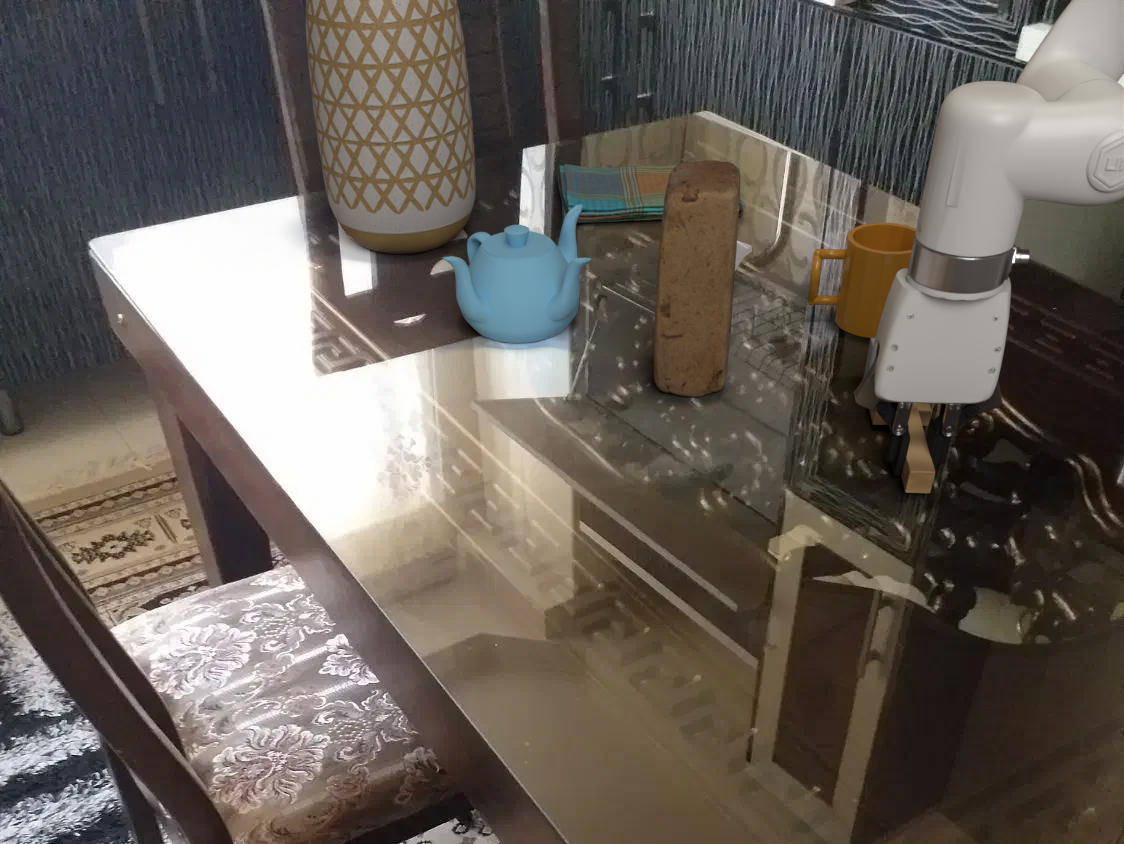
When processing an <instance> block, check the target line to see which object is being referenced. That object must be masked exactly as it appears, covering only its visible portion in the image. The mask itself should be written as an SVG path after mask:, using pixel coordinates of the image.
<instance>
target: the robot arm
mask: <svg viewBox="0 0 1124 844" xmlns="http://www.w3.org/2000/svg"><path fill="white" fill-rule="evenodd" d="M1123 76H1124V0H1070V2H1069V3H1068V5H1066V7H1065V8H1064V9H1063V11H1062V12H1061V13H1060V15H1059V16H1058V18H1057V19H1056V21H1055V22H1054V23H1053V25H1052V26H1051V28H1050V29H1049V30H1048V32H1047V33H1046V35H1045V37H1044V38H1043V39H1042V40H1041V42H1040V44H1039V45H1038V46H1037V48H1036V49H1035V51H1034V52H1033V54H1032V55H1031V57H1030V58H1029V60H1028V62H1027V63H1026V65H1025V66H1024V68H1023V69H1022V71H1021V73H1020V74H1019V76H1018V78H1017V80H1016V82H1011V81H1001V80H979V81H978V80H977V81H973V82H968V83H965V84H960V85H959V86H957V87H955V88H953V89H952V90H950V92H949V93H948V94H947V95H946V97H944V99H943V102H942V103H941V105H940V109H939V113H938V117H937V121H936V125H935V131H934V136H933V142H932V147H931V151H930V156H929V161H928V165H927V171H926V176H925V182H924V186H923V192H922V197H921V201H920V207H919V211H918V217H917V223H916V226H915V228H916V232H915V236H914V241H913V246H912V251H911V256H910V261H909V266H908V268H904V269H901V270H899V271H898V272H897V274H896V276H895V278H894V281H893V283H892V286H891V288H890V291H889V294H888V297H887V300H886V303H885V306H884V309H883V312H882V316H881V319H880V323H879V327H878V330H877V334H876V338H875V342H874V346H873V350H872V354H871V359H870V366H869V371H868V372H867V374H866V375H865V377H864V376H863V377H864V378H863V377H862V379H861V381H860V382H859V384H858V386H857V387H856V389H854V393H853V394H854V395H853V396H854V401H855V404H857V405H858V406H861V407H862V408H865V409H867V410H869V411H870V410H871V411H875V412H877V413H878V414H879V416H880V417H881V418H882V419H883V420H884V421H885V422H886V424H887V425H886V426H888V427H889V432H888V438H887V441H886V442H887V443H886V448H885V453H884V454H885V455H884V459H885V463H890V466H891V470H892V474H893V477H900V476H901V475H902V472H903V467H904V463H905V458H906V456H907V453H908V448H909V444H910V433H909V430H908V429H909V426H908V421H909V417H910V413H911V409H912V405H913V403H929V404H930V405H931V404H934V405H935V404H936V405H937V404H938V411H937V415H936V417H935V418H934V419H932V420H931V422H929V424H928V426H927V432H926V434H925V437H926V442H927V445H928V449H929V453H930V456H931V458H932V462H933V465H934V469H935V472H936V471H937V468H938V465H939V464H940V465H942V464H943V463H944V461H945V457H946V453H947V449H948V445H949V441H950V437H953V436H955V434H956V433H957V430H958V429H959V428H961V427H962V426H963V425H964V424H966V423H967V422H969V421H970V420H971V419H973V418H974V417H975V416H976V415H978V414H979V415H980V414H984V413H987V412H990V411H993V410H995V409H999V408H1000V407H1001V406H1002V404H1003V397H1002V392H1001V389H1000V382H999V376H1000V372H1001V368H1002V364H1003V358H1004V353H1005V347H1006V342H1007V341H1006V340H1007V335H1008V328H1009V321H1010V312H1011V311H1010V310H1011V301H1012V300H1011V298H1012V283H1011V278H1010V277H1009V275H1010V274H1011V273H1012V270H1014V269H1017V268H1026V267H1027V266H1028V264H1029V262H1030V253H1031V252H1030V249H1029V248H1021V247H1020V246H1016V243H1015V242H1016V238H1017V235H1018V231H1019V228H1020V227H1019V226H1020V223H1021V219H1022V217H1023V216H1022V215H1023V212H1024V207H1025V203H1026V202H1027V201H1038V202H1046V203H1047V202H1048V203H1053V204H1060V205H1066V206H1067V205H1068V206H1077V207H1099V206H1104V205H1108V204H1112V203H1115V202H1118V201H1120V200H1123V199H1124V86H1123V85H1122V84H1121V83H1119V81H1120V79H1121V78H1122V77H1123Z"/></svg>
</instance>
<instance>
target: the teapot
mask: <svg viewBox="0 0 1124 844" xmlns="http://www.w3.org/2000/svg"><path fill="white" fill-rule="evenodd" d="M582 208H583V205H581V204H579V205H576V206H575V207H573V208H572V209H571V210H570V211H569V212H568V213H567V215H566V216H565V219H564V221H562V225H561V229H560V234H559V238H558V243H557V244H556V243H555V242H554V240H552V238H551V237H549V236H548V235H546V234H543V233H540V232H536V231H530V228H529V227H528V226H526V225H524V224H512V225H508V226H506V227H504V229H503V232H498V233H495V234H493V235H491V234H489V233H488V232H486V231H477V232H475V233H473V234H471V235H470V236H469V237H468V239H467V241H466V251H467V258H468V263H469V264H467V262H466V261H465V260H464V259H463V258H460V257H456V256H442V259H443V260H444V261H446V262H447V263H448V264H450V266H451V267H452V269H453V272H454V277H455V297H456V302H457V304H458V307H459V309H460V313H461V315H462V317H463V318H464V320H465V321H466V323H468V324H469V326H470V327H472V328H473V330H475V331H476V332H477V333H478V334H480V335H481V336H482V337H484V338H487V339H489V340H492V341H497V342H501V343H510V344H526V343H535V342H539V341H544V340H548V339H551V338H552V337H555V336H556V335H559V334H560V333H562V332H563V331H565V330H566V328H567V327H568V326H569V325H570V324H571V322H572V321H573V320H574V319H575V318H576V316H577V314H578V312H579V309H580V299H581V273H582V270H583V268H584V266H585V265H586V264H588V263H590V262H591V261H592V258H590V257H578V256H579V255H578V246H577V245H578V244H577V232H576V231H577V224H578V223H577V219H578V217H579V215H580V213H581V211H582Z"/></svg>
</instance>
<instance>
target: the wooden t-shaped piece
mask: <svg viewBox="0 0 1124 844" xmlns="http://www.w3.org/2000/svg"><path fill="white" fill-rule="evenodd" d="M932 411H933V410H932V407H931V403H913V405H912V409H911V413H910V417H909V421H908V426H909V429H908V430H909V433H910V444H909V448H908V453H907V456H906V458H905V463H904V467H903V472H902V475H900V476H901V477H900V478H901V481H902V486H903V489H904V493H906V494H931V491H932V487H933V483H934V479H935V476H936V471H935V469H934V465H933V462H932V458H931V456H930V453H929V449H928V445H927V442H926V434H925V433H926V432H925V430H924V427H929V423H930V420H931V416H932ZM869 414H870V418H871V423H872V425H875V426H888V425H887V424H886V422H885V421H884V420H883V419H882V418H881V417H880V416H879V414H878V413H877V412H875V411H871V410H869Z"/></svg>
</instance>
